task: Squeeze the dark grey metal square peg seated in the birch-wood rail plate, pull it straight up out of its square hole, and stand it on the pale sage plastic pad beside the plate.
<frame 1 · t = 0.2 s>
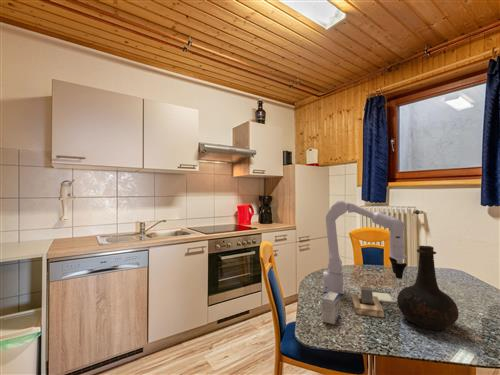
hand: (397, 275, 112), 10 cm above the table, tool pointing down, fingers open, 7 cm apart
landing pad: (379, 297, 112), on the table
rail plate: (366, 307, 102), on the table
glass bottle: (426, 324, 90), on the table
square peg: (366, 298, 102), in the rail plate
medicine box: (331, 319, 93), on the table
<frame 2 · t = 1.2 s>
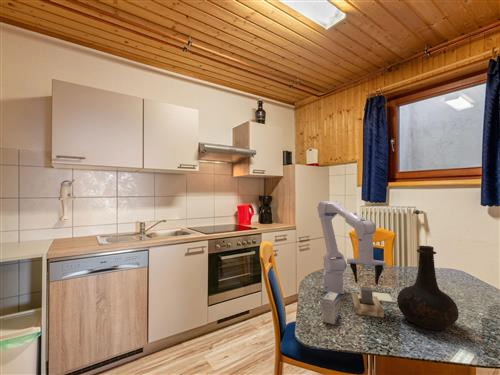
hand: (366, 282, 103), 10 cm above the table, tool pointing down, fingers open, 7 cm apart
nothing on the table moved.
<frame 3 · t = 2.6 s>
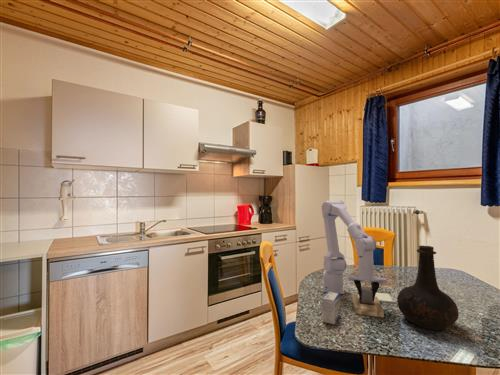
hand: (366, 299, 102), 3 cm above the table, tool pointing down, fingers closed on square peg, 4 cm apart
square peg: (366, 298, 102), in the rail plate, touching gripper
everything else where it was.
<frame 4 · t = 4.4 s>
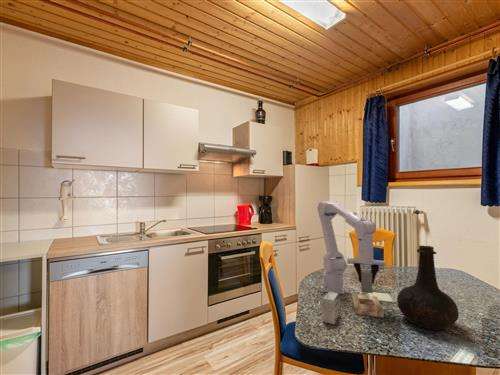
hand: (366, 282, 103), 10 cm above the table, tool pointing down, fingers closed on square peg, 4 cm apart
square peg: (366, 281, 103), point 11 cm above the table, touching gripper
everything else where it was.
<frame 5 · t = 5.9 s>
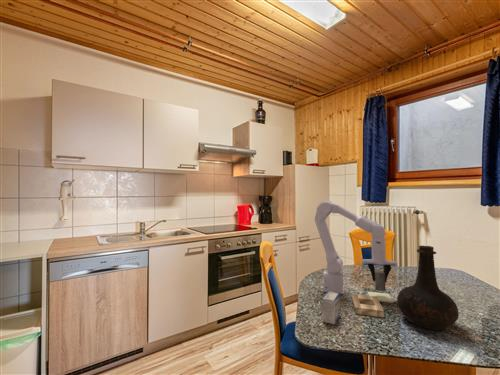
hand: (379, 281, 113), 7 cm above the table, tool pointing down, fingers closed on square peg, 4 cm apart
square peg: (379, 280, 112), point 8 cm above the table, touching gripper
everything else where it was.
when the fingers open (5 cm above the table, at t = 6.7 s): square peg drops 1 cm, resting on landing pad.
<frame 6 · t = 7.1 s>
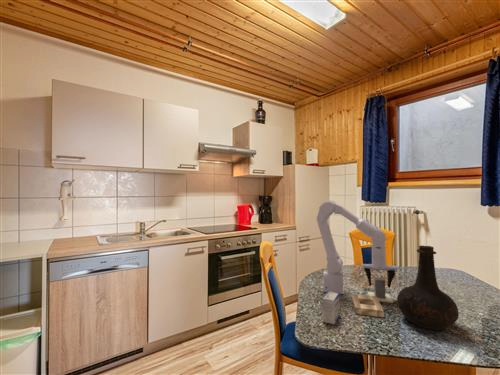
hand: (379, 286, 113), 5 cm above the table, tool pointing down, fingers open, 7 cm apart
square peg: (379, 287, 112), on the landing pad, point 5 cm above the table
everything else where it was.
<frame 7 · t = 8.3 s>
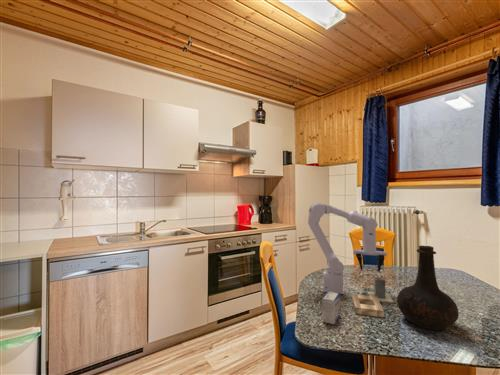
hand: (369, 270, 119), 10 cm above the table, tool pointing down, fingers open, 7 cm apart
nothing on the table moved.
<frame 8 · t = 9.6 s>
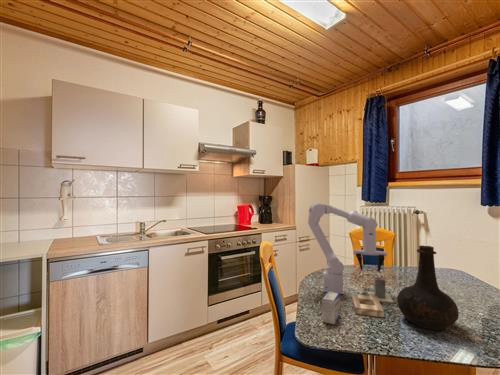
hand: (369, 270, 119), 10 cm above the table, tool pointing down, fingers open, 7 cm apart
nothing on the table moved.
at the end: square peg 0.2 cm off-centre on the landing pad, point 4.6 cm above the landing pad's base; square peg tilted 0°; the gripper is holding nothing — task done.
